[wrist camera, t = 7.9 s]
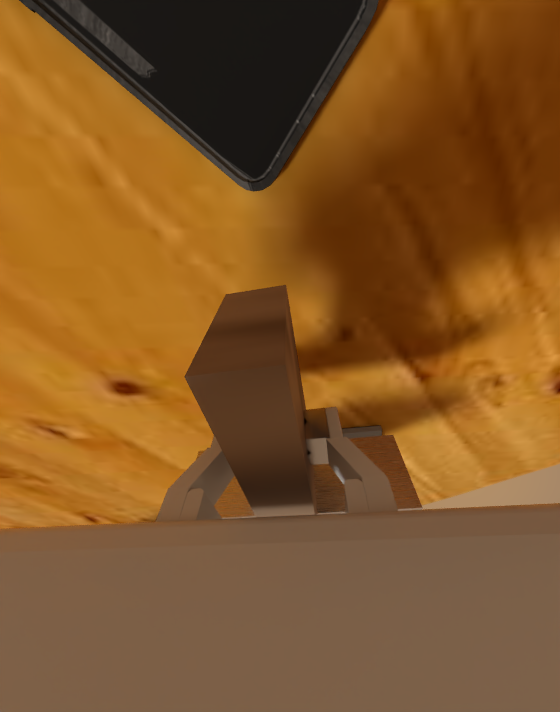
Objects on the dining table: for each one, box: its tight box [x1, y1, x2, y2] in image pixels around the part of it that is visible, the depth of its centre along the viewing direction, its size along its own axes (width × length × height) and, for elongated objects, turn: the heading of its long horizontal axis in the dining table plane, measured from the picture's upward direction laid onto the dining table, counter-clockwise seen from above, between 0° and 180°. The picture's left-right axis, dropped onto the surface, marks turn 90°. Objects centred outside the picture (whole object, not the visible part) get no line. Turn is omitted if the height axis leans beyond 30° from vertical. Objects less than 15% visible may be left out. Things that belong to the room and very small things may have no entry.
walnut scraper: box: [185, 285, 422, 519], centre depth 11 cm, size 11×12×5 cm
